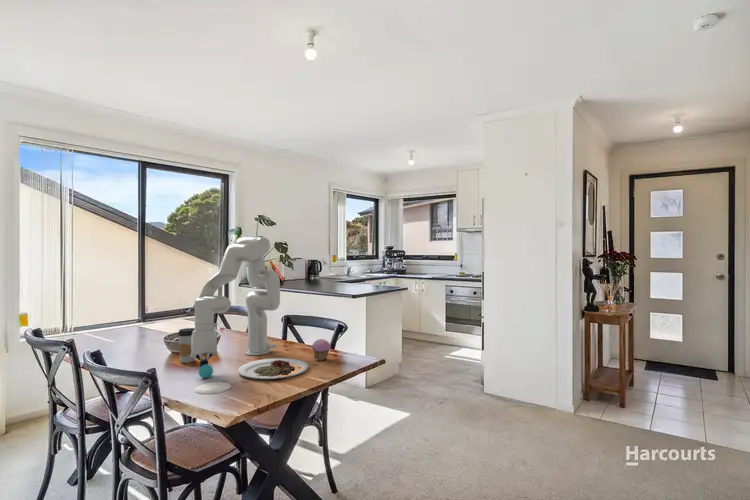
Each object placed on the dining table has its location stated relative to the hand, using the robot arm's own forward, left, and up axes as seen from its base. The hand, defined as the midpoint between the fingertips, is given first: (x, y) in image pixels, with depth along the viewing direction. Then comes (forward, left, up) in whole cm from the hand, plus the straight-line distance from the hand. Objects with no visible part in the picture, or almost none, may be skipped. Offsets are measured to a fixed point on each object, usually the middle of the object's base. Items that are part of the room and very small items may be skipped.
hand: (204, 369), depth 180 cm
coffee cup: (+4, -24, -2) cm, 24 cm away
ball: (0, +7, +1) cm, 7 cm away
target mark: (0, +22, -2) cm, 22 cm away
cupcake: (-52, +5, -2) cm, 52 cm away
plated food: (-27, +11, -2) cm, 29 cm away
